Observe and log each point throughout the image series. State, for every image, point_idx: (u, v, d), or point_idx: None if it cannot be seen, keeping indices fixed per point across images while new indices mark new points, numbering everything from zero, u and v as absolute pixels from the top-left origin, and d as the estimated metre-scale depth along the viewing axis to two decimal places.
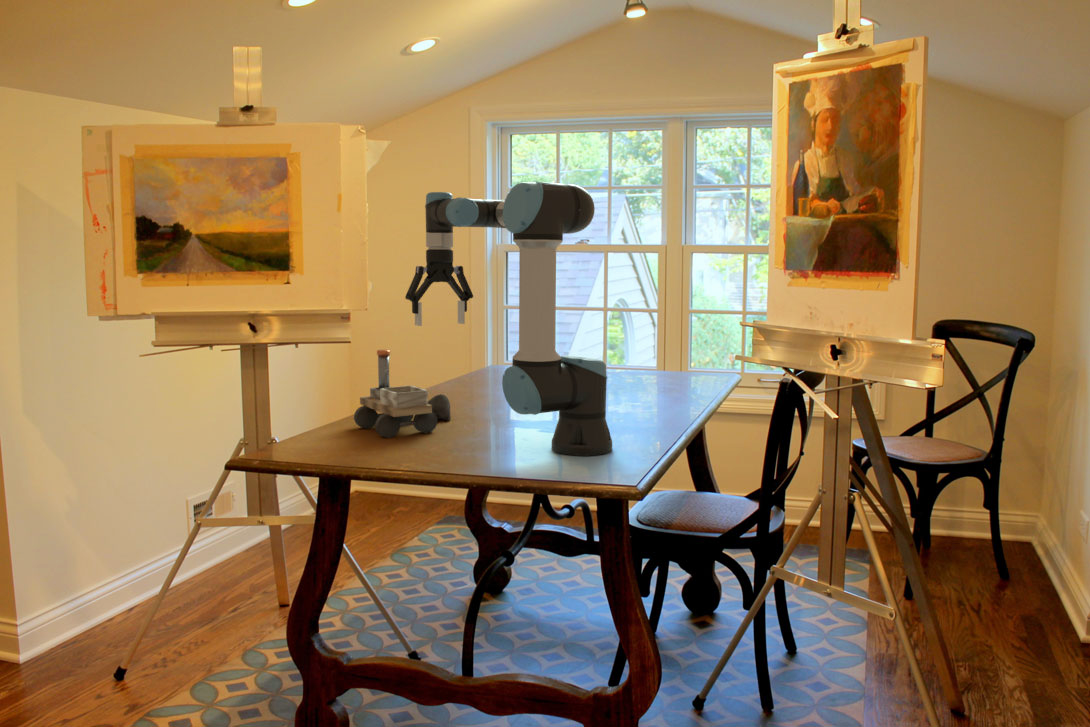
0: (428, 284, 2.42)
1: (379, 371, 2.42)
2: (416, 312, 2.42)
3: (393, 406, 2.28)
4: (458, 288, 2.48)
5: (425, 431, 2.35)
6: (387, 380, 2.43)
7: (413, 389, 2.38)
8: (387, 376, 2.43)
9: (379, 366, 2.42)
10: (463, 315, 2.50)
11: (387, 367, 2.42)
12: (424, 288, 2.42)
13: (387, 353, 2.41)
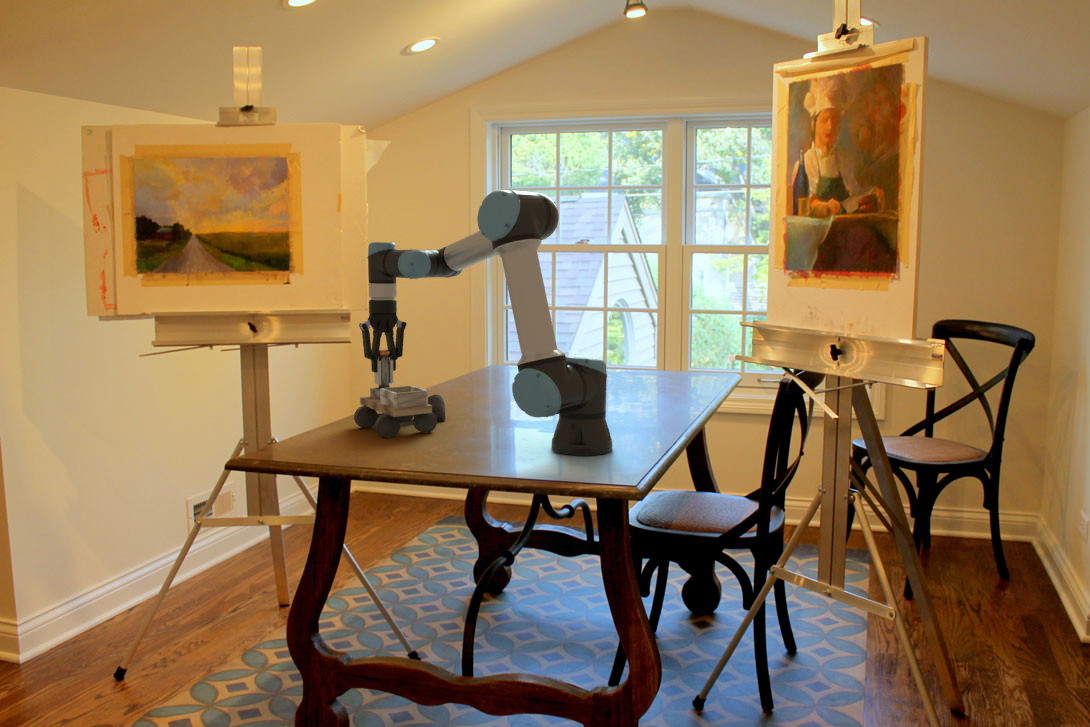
0: (378, 338, 2.40)
1: None
2: (375, 371, 2.41)
3: (393, 406, 2.28)
4: (392, 344, 2.42)
5: (425, 431, 2.35)
6: (387, 380, 2.43)
7: (413, 389, 2.38)
8: (387, 376, 2.42)
9: None
10: (392, 374, 2.43)
11: (387, 367, 2.42)
12: (377, 344, 2.40)
13: (387, 353, 2.41)
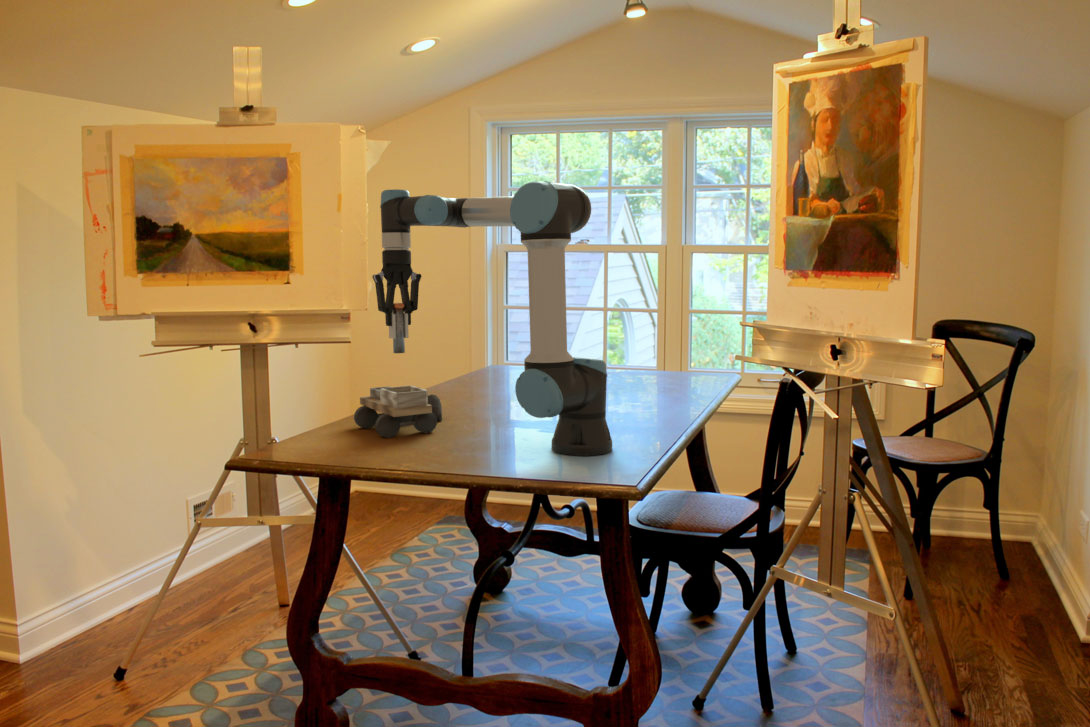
0: (392, 290, 2.31)
1: None
2: (390, 324, 2.32)
3: (393, 406, 2.28)
4: (407, 296, 2.33)
5: (425, 431, 2.35)
6: (402, 334, 2.33)
7: (413, 389, 2.38)
8: (402, 330, 2.33)
9: None
10: (407, 328, 2.34)
11: (402, 321, 2.33)
12: (391, 296, 2.31)
13: (402, 306, 2.32)
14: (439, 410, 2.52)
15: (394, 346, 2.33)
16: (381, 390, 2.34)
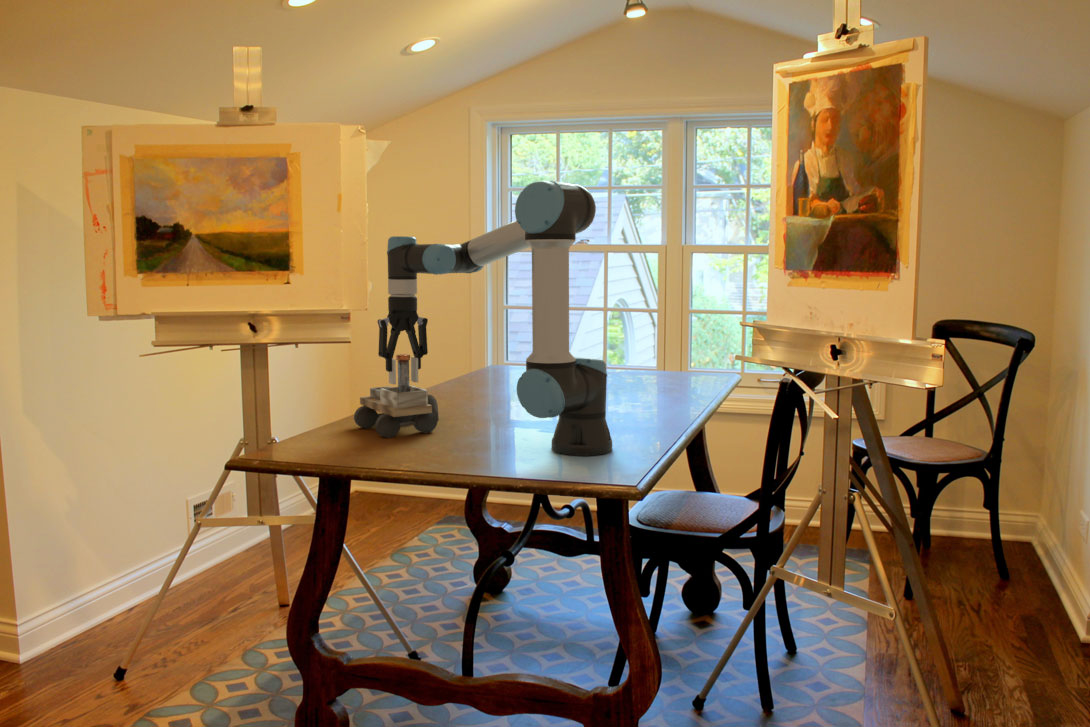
0: (396, 337, 2.29)
1: (399, 377, 2.32)
2: (390, 370, 2.30)
3: (393, 406, 2.28)
4: (415, 342, 2.33)
5: (425, 431, 2.35)
6: (407, 386, 2.32)
7: (413, 389, 2.38)
8: (407, 382, 2.32)
9: (399, 371, 2.32)
10: (417, 373, 2.34)
11: (407, 372, 2.32)
12: (393, 342, 2.29)
13: (407, 358, 2.31)
14: (435, 410, 2.52)
15: None
16: (381, 390, 2.34)
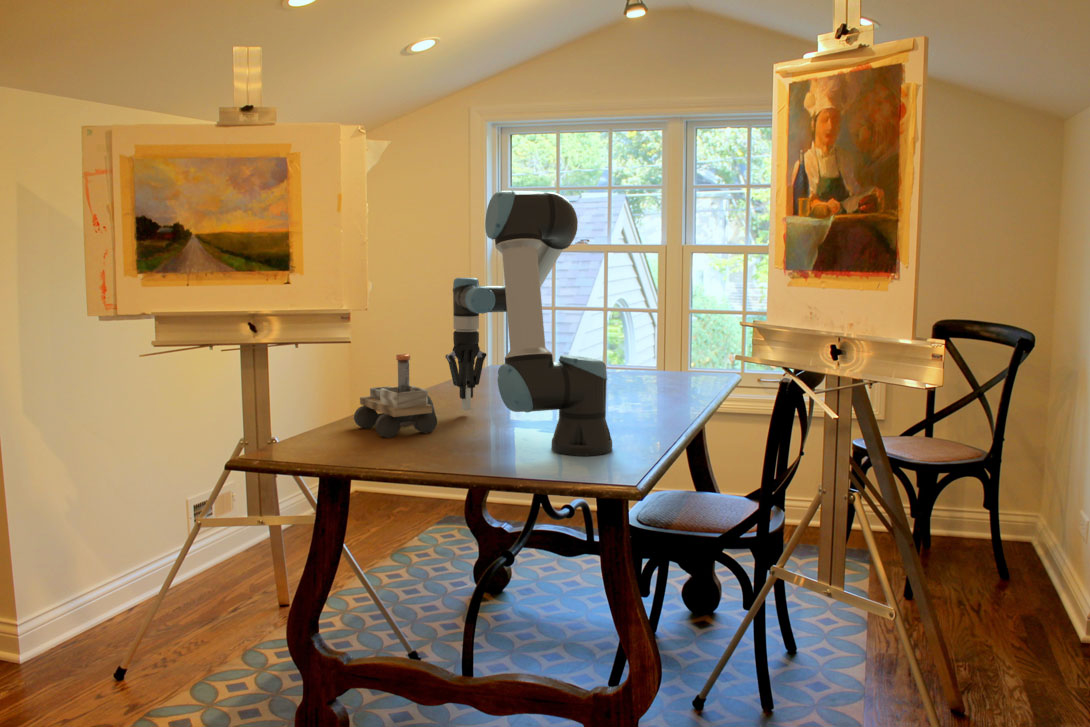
0: (464, 367, 2.58)
1: (399, 377, 2.32)
2: (463, 397, 2.59)
3: (393, 406, 2.28)
4: (472, 372, 2.59)
5: (425, 431, 2.35)
6: (407, 386, 2.32)
7: (413, 389, 2.38)
8: (407, 382, 2.32)
9: (399, 371, 2.32)
10: (469, 401, 2.60)
11: (407, 372, 2.32)
12: (463, 373, 2.58)
13: (407, 358, 2.31)
14: (433, 410, 2.52)
15: None
16: (381, 390, 2.34)
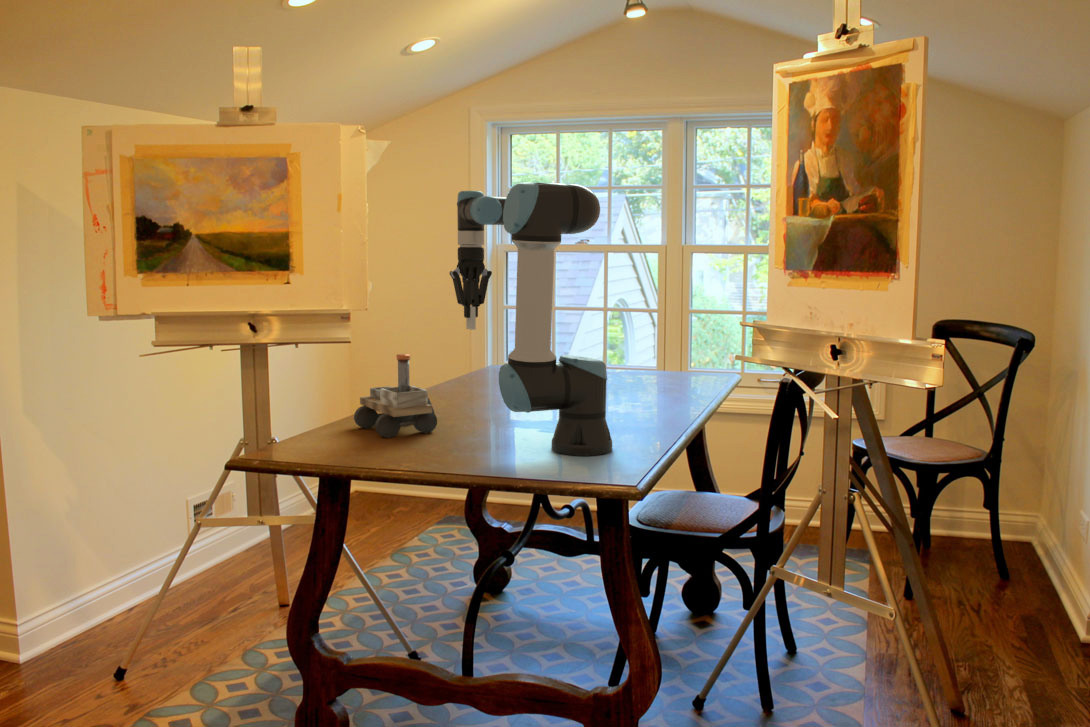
0: (469, 285, 2.48)
1: (399, 376, 2.32)
2: (468, 316, 2.50)
3: (393, 406, 2.28)
4: (477, 291, 2.50)
5: (425, 431, 2.35)
6: (407, 386, 2.32)
7: (413, 389, 2.38)
8: (407, 382, 2.32)
9: (399, 371, 2.32)
10: (474, 321, 2.51)
11: (407, 372, 2.32)
12: (468, 290, 2.49)
13: (407, 357, 2.31)
14: (432, 409, 2.53)
15: None
16: (381, 390, 2.34)
